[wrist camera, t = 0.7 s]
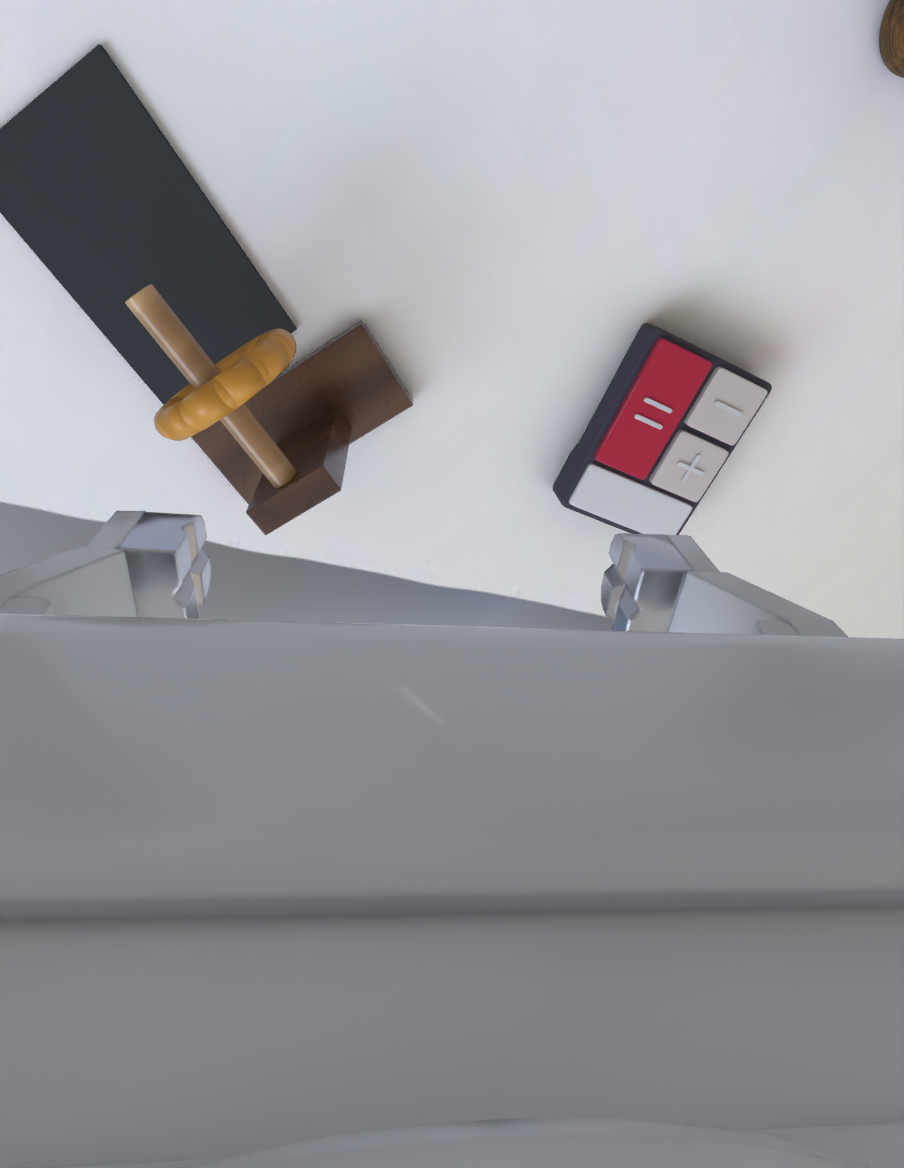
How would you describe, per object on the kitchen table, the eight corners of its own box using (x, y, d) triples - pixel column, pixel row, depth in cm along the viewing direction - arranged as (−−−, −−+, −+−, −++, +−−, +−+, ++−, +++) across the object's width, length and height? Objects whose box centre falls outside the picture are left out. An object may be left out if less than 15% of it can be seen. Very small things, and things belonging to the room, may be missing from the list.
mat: (-38, 164, 43) (-42, 163, 42) (101, 44, 40) (99, 43, 40) (172, 412, 52) (171, 413, 52) (296, 328, 49) (296, 329, 49)
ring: (195, 414, 47) (151, 467, 39) (175, 389, 46) (125, 439, 38) (309, 337, 45) (289, 376, 37) (291, 310, 44) (266, 344, 36)
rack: (412, 399, 53) (417, 463, 41) (252, 498, 56) (215, 582, 45) (286, 199, 45) (248, 209, 33) (109, 328, 48) (20, 377, 37)
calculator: (780, 388, 50) (673, 553, 57) (753, 376, 54) (655, 532, 60) (660, 328, 47) (561, 509, 54) (640, 319, 51) (550, 490, 57)
